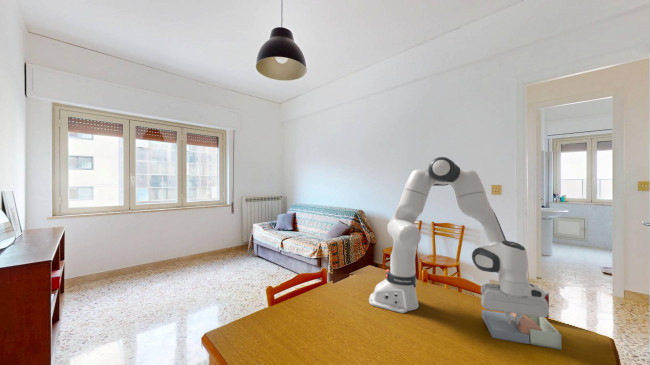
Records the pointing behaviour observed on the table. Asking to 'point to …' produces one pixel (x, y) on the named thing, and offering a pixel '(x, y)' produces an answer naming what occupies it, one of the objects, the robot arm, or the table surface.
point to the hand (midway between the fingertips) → (513, 323)
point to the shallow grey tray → (503, 327)
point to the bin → (544, 334)
